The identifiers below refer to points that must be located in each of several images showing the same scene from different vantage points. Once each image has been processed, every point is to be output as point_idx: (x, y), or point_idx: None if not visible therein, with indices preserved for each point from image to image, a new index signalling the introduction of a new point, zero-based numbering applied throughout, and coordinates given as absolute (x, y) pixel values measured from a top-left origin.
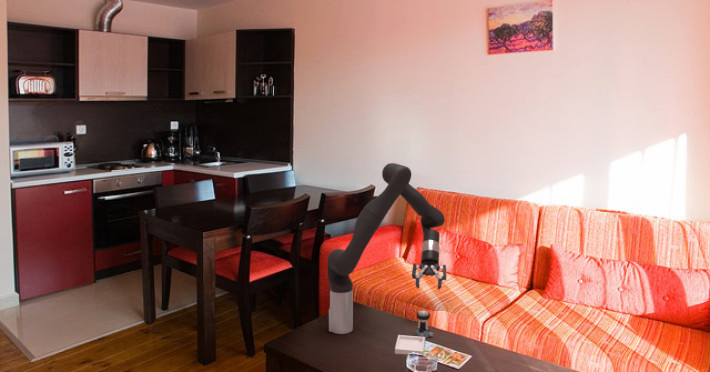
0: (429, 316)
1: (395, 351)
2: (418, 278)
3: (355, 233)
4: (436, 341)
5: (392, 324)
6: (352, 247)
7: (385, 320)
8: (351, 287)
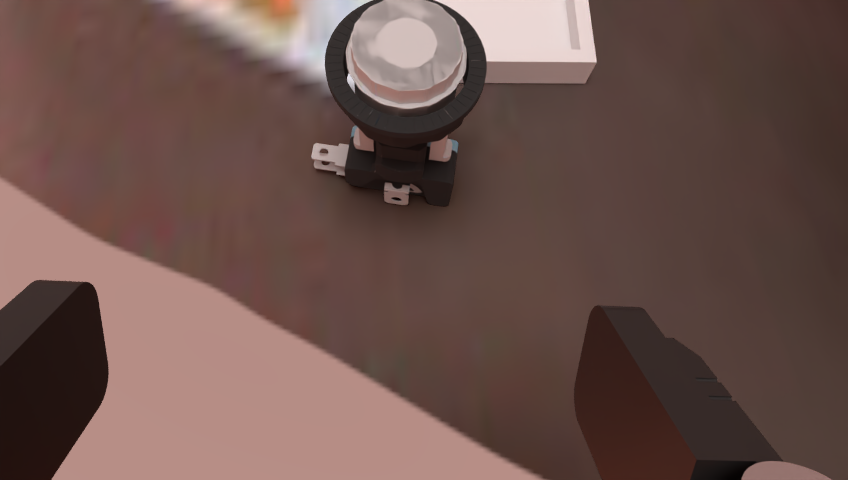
0: (332, 43)
1: None
2: (718, 459)
3: None
4: (286, 97)
5: (708, 362)
6: None
7: (803, 448)
8: None
